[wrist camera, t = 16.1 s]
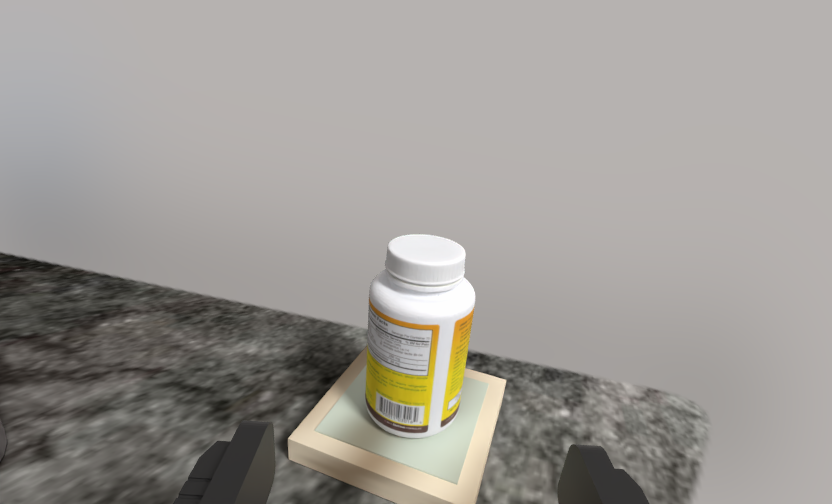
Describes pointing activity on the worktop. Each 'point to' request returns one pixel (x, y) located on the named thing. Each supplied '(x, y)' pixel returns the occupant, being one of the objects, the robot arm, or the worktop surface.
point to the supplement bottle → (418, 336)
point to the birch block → (400, 443)
